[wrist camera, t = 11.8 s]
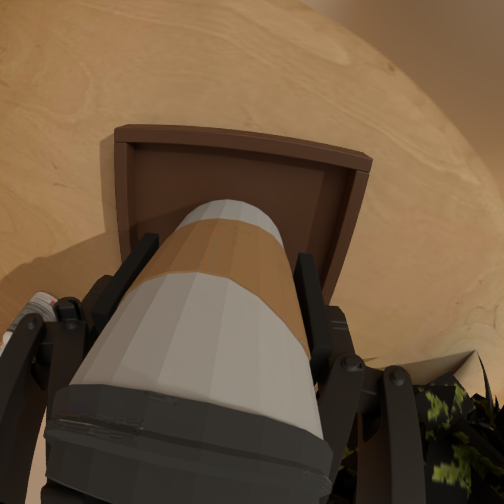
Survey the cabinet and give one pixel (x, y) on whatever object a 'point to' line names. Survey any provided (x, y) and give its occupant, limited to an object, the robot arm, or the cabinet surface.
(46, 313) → the pill bottle
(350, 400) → the robot arm
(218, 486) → the coffee cup
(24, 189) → the cabinet surface
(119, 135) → the tray
